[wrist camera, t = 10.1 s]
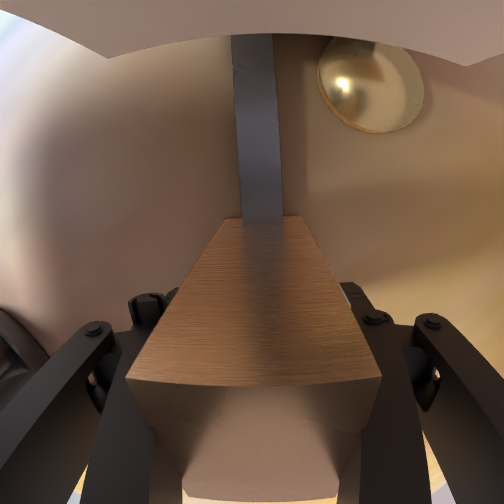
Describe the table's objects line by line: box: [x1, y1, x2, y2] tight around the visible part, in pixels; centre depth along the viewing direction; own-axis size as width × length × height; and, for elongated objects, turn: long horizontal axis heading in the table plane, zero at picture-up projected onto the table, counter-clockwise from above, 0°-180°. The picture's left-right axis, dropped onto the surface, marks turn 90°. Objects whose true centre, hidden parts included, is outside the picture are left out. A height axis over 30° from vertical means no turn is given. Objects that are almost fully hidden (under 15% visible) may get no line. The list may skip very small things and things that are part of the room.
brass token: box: [317, 36, 424, 133], centre depth 12 cm, size 6×6×1 cm
